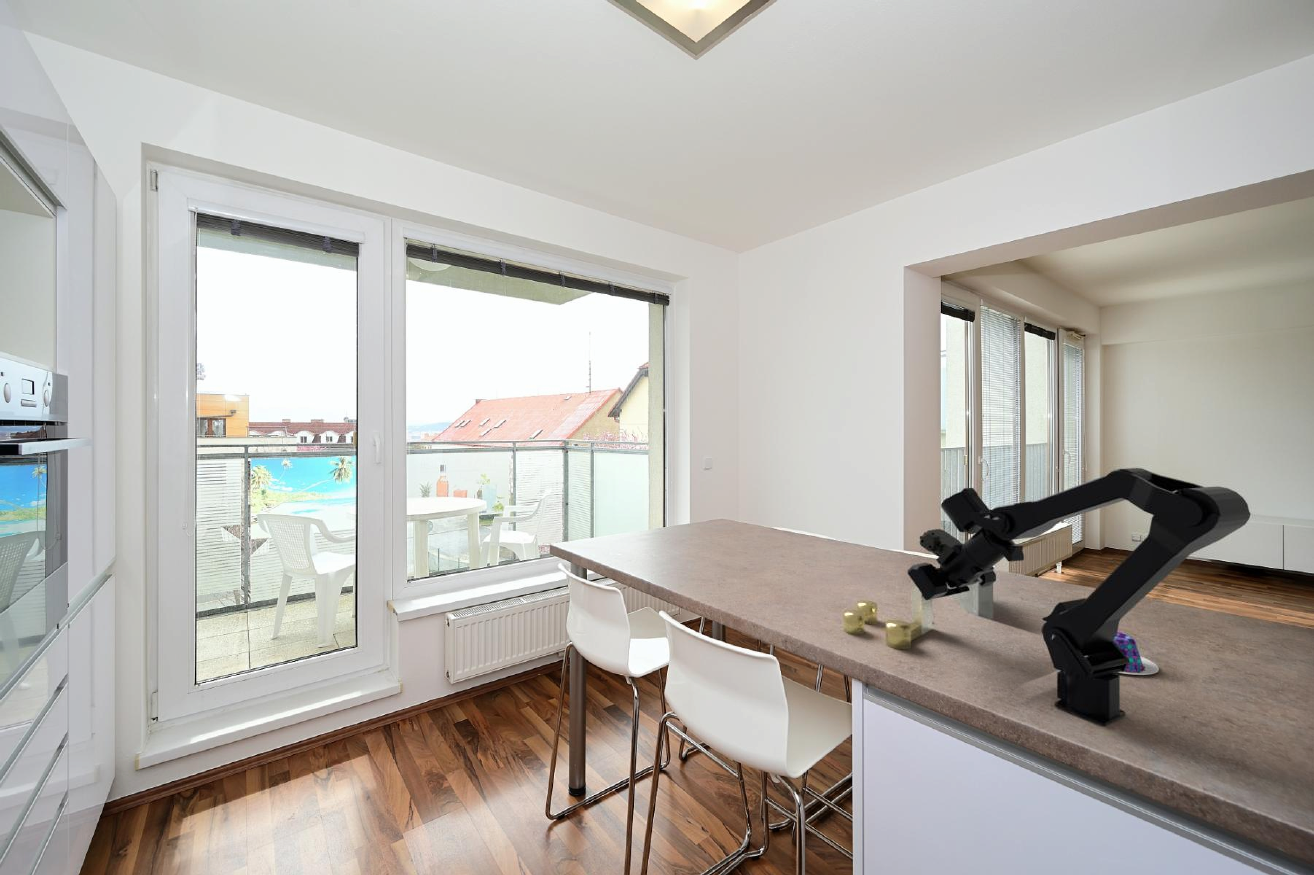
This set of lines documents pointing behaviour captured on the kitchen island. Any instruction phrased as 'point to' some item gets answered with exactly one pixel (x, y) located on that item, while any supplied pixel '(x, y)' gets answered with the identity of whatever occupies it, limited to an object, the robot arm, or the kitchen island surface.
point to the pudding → (1134, 656)
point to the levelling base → (860, 617)
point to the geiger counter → (977, 600)
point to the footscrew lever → (904, 632)
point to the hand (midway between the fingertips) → (925, 597)
